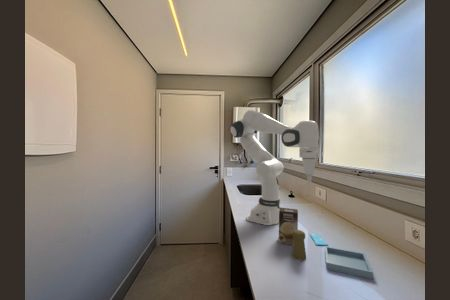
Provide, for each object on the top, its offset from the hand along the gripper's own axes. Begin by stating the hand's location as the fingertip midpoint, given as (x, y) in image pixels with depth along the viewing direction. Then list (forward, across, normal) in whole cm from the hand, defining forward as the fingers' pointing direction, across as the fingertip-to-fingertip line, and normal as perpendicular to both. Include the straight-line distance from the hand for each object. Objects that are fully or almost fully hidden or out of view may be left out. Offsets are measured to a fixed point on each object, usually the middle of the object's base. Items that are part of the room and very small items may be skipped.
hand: (309, 182), depth 95 cm
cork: (+31, +12, -5) cm, 33 cm away
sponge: (+31, -8, +4) cm, 33 cm away
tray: (+31, +10, +13) cm, 35 cm away
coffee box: (+31, 0, -11) cm, 32 cm away
